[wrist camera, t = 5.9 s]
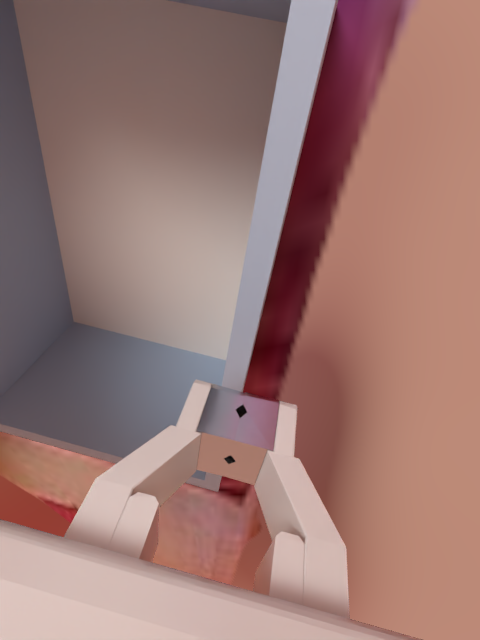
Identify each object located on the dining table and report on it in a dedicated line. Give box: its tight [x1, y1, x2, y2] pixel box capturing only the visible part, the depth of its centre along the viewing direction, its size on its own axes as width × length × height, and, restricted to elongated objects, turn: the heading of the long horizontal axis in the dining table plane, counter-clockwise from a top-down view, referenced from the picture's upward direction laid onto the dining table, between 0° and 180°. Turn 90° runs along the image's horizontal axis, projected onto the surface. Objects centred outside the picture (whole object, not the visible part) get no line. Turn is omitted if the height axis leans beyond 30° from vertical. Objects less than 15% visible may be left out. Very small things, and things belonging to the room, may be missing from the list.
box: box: [0, 0, 338, 492], centre depth 16 cm, size 20×14×10 cm
